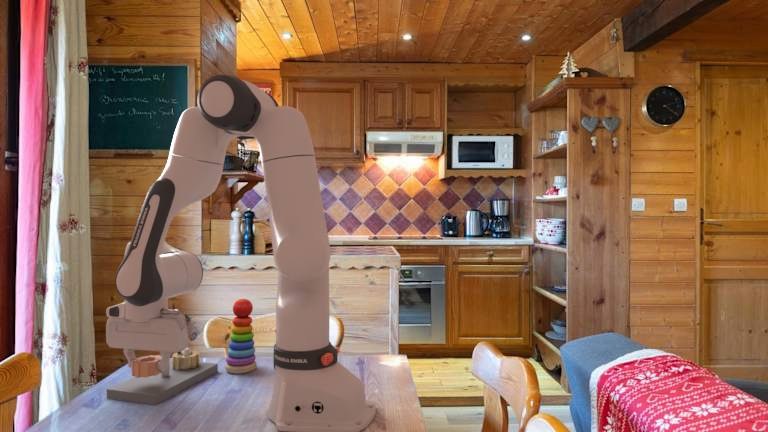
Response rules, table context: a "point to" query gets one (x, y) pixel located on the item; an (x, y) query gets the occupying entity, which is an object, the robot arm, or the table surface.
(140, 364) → the loose gear
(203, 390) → the table surface
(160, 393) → the gear board
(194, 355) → the gear
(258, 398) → the table surface
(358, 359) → the table surface
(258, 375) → the table surface
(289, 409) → the robot arm
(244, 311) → the stacking toy
